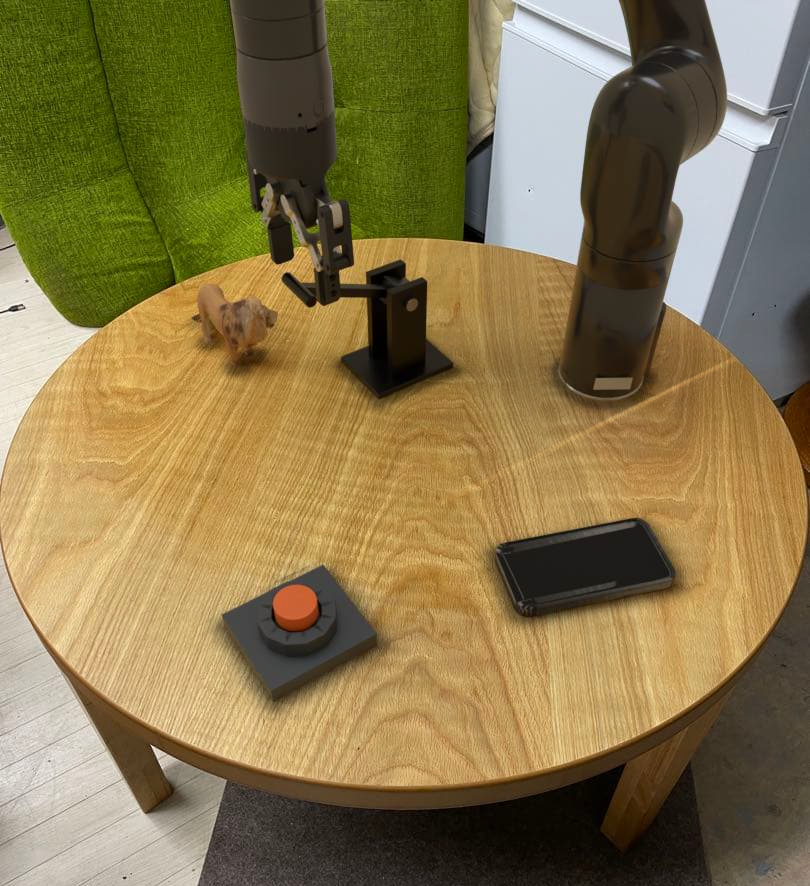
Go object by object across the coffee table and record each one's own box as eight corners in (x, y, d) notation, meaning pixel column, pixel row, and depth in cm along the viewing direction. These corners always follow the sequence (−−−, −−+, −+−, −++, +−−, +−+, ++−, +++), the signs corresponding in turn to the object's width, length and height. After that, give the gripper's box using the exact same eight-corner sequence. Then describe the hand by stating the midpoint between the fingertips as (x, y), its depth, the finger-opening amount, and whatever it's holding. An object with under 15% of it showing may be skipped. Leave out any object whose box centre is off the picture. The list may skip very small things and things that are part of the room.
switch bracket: (378, 403, 94) (376, 310, 85) (341, 365, 99) (334, 273, 90) (453, 371, 98) (458, 279, 89) (413, 335, 102) (414, 244, 93)
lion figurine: (290, 365, 99) (282, 297, 92) (254, 387, 96) (243, 318, 89) (209, 313, 105) (196, 245, 98) (174, 332, 103) (157, 264, 96)
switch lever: (303, 313, 82) (309, 290, 81) (278, 288, 85) (283, 265, 84) (416, 313, 91) (423, 292, 90) (390, 291, 94) (397, 270, 92)
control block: (324, 576, 79) (321, 551, 76) (377, 645, 74) (376, 621, 71) (224, 626, 75) (217, 601, 72) (273, 702, 70) (268, 679, 68)
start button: (305, 590, 74) (303, 577, 72) (326, 619, 72) (325, 606, 70) (267, 609, 72) (265, 596, 71) (288, 639, 70) (286, 626, 69)
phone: (492, 544, 80) (643, 515, 82) (491, 552, 80) (641, 523, 83) (520, 612, 75) (680, 579, 77) (519, 620, 75) (677, 587, 78)
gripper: (206, 85, 73) (235, 260, 85) (291, 148, 65) (310, 330, 77) (284, 65, 75) (301, 237, 88) (374, 123, 68) (380, 303, 80)
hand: (305, 280), depth 82 cm, fingers open, 8 cm apart
